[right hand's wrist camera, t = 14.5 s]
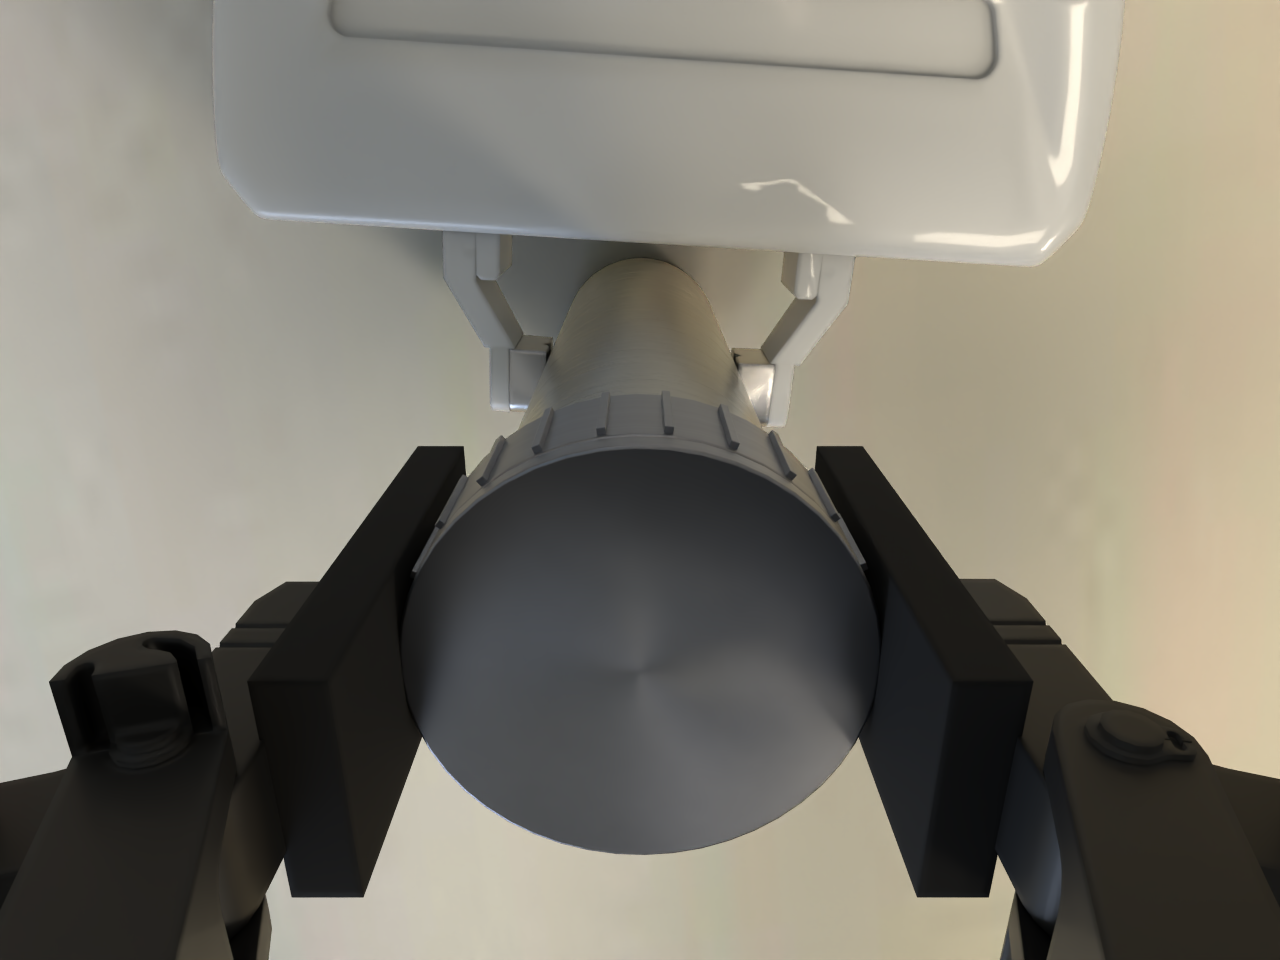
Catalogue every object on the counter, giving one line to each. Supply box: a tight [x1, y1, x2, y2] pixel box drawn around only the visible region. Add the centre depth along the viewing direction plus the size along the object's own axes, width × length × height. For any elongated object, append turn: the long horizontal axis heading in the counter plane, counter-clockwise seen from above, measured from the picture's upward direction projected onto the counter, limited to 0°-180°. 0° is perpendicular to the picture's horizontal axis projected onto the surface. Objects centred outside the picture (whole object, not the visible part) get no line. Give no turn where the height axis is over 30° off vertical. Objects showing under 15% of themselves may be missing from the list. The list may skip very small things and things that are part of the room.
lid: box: [399, 391, 882, 855], centre depth 11 cm, size 6×6×2 cm
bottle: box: [518, 258, 763, 430], centre depth 20 cm, size 5×5×19 cm
